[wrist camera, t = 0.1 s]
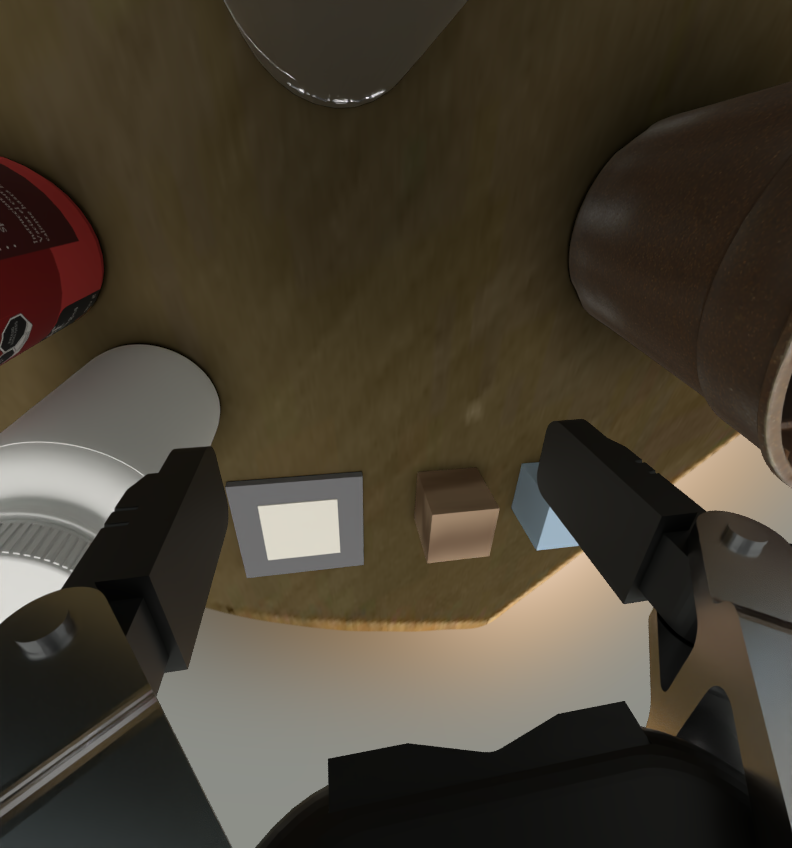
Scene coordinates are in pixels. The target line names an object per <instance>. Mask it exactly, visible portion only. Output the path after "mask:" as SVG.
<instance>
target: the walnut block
mask: <svg viewBox="0 0 792 848" xmlns="http://www.w3.org/2000/svg"><path fill="white" fill-rule="evenodd" d="M499 509H500V508H499V506H498V504H497V503H496V501H495V499H494V497H493V495H492V494H491V492H490V490H489V488H488V487H487V485H486V483H485V481H484V479H483V478H482V476H481V474H480V472H479V470H478V469H477V467H474V468H461V469H448V470H436V471H423V472H418V473H417V486H416V499H415V513H414V519H415V523H416V526H417V529H418V533H419V536H420V540H421V543H422V547H423V550H424V554H425V557H426V561H427V563H434V562H442V561H451V560H460V559H468V558H477V557H485V556H489V555H490V550H491V546H492V541H493V536H494V532H495V527H496V523H497V518H498V514H499Z"/></svg>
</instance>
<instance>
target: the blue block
mask: <svg viewBox="0 0 792 848" xmlns="http://www.w3.org/2000/svg"><path fill="white" fill-rule="evenodd" d="M538 466H539V462H537V463H524V464H522V466H521V470H520V475H519V479H518V483H517V487H516V491H515V495H514V500H513V504H512V510H513V512H514V513H515V515H516V517H517V519H518V520H519V522H520V524H521V525H522V527H523V529H524V530H525V532H526V534H527V535H528V537H529V539H530V540H531V542H532V544H533V546H534V547H535V549H536V550H545V549H553V548H562V547H571V546H579V545H578V543H577V542H576V541H575V539H574V538H573V537H572V535H571V534H570V533H569V531H568V530H567V529H566V527H565V526H564V525H563V523H562V522H561V521H560V519H559V518H558V517H557V515H556V514H555V513H554V512H553V510H552V509H551V508H550V506H549V505H548V504H547V502H546V501H545V500H544V498H543V497H542V495H541V493H540V491H539V488H538V484H537V471H538Z"/></svg>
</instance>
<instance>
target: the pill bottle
mask: <svg viewBox="0 0 792 848" xmlns="http://www.w3.org/2000/svg"><path fill="white" fill-rule="evenodd" d="M219 418H220V403H219V398H218V395H217V392H216V390H215V387H214V386H213V384H212V382H211V381H210V379H209V378H208V376H207V375H206V374H205V373H204V372H203V371H202V370H201V369H200V368H199V367H198V366H197V365H196V364H194V363H193V362H192V361H190V360H189V359H187V358H186V357H184V356H182V355H180V354H178V353H176V352H174V351H171V350H168V349H165V348H162V347H158V346H152V345H142V344H135V345H125V346H120V347H116V348H113V349H111V350H108V351H106V352H104V353H102V354H100V355H98V356H97V357H95V358H94V359H92V360H91V361H90V362H88V363H87V364H86V365H85V366H83V367H82V368H81V369H80V370H78V371H77V372H76V373H75V374H73V375H72V376H71V377H70V378H68V379H67V380H66V381H65V382H63V383H62V384H61V385H60V386H59V387H57V388H56V389H55V390H54V391H52V392H51V393H50V394H49V395H47V396H46V397H45V398H44V399H42V400H41V401H40V402H39V403H37V404H36V405H35V406H34V407H32V408H31V409H30V410H29V411H27V412H26V413H25V414H24V415H22V416H21V417H20V418H19V419H18V420H16V421H15V422H14V423H13V424H11V425H10V426H9V427H8V428H6V429H5V430H4V431H3V432H1V433H0V624H1V623H2V622H3V621H4V620H5V619H6V618H7V617H9V616H10V615H11V614H13V613H14V612H15V611H17V610H18V609H20V608H21V607H23V606H25V605H26V604H28V603H30V602H32V601H33V600H35V599H37V598H40V597H42V596H44V595H46V594H49V593H52V592H55V591H58V590H61V588H62V587H63V585H64V584H65V582H66V581H67V579H68V578H69V576H70V575H71V573H72V572H73V570H74V569H75V567H76V566H77V564H78V562H79V561H80V559H81V558H82V556H83V555H84V553H85V552H86V550H87V549H88V547H89V546H90V544H91V543H92V541H93V540H94V538H95V537H96V535H97V534H98V532H99V531H100V529H101V528H104V523H105V522H106V520H107V519H108V517H109V516H110V514H111V513H112V512H114V511H115V509H114V508H115V507H116V505H117V504H118V502H119V501H120V499H121V498H122V496H123V495H124V493H125V492H126V490H127V489H128V488H130V487H131V486H132V485H134V484H135V483H136V482H137V481H139V480H140V479H141V478H143V477H144V476H145V475H146V474H151V473H158V472H159V471H160V469H161V467H162V466H163V464H164V462H165V461H166V459H167V457H168V455H169V454H170V452H171V451H172V450H173V449H178V448H192V447H205V446H211V443H212V441H213V438H214V435H215V433H216V430H217V427H218V424H219Z"/></svg>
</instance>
